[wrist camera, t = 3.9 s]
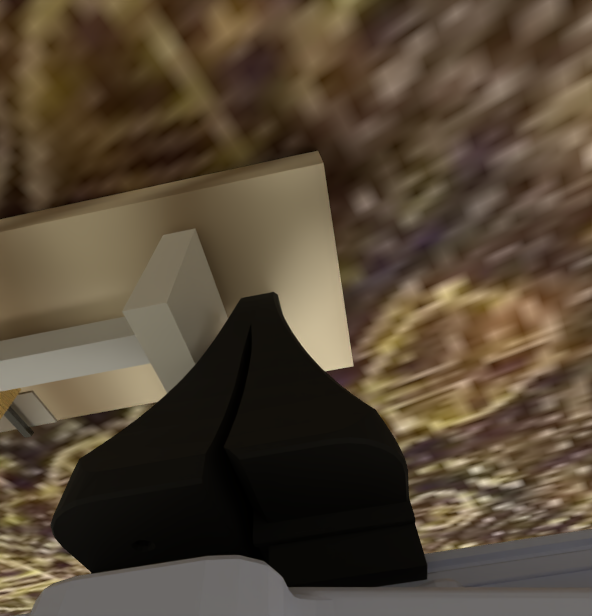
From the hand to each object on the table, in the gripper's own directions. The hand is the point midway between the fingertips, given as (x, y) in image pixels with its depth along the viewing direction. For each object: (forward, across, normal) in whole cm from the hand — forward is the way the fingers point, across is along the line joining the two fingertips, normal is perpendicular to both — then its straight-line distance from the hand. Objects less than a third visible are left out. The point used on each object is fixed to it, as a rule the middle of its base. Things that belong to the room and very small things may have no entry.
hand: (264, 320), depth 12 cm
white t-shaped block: (+1, +6, 0) cm, 6 cm away
